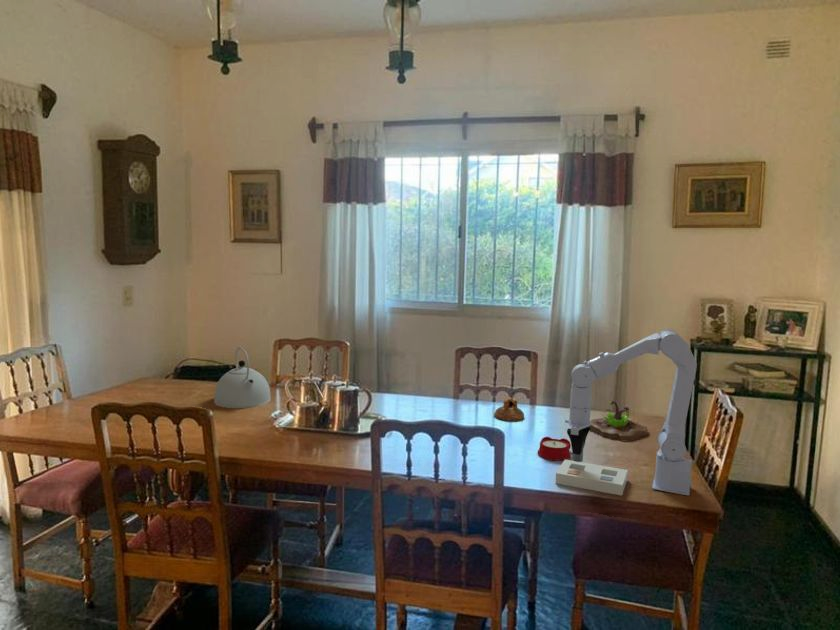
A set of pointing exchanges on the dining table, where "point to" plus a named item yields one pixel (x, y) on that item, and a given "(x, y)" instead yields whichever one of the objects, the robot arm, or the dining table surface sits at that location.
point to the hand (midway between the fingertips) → (577, 452)
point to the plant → (618, 425)
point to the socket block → (592, 477)
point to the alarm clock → (554, 449)
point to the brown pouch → (509, 411)
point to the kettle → (242, 387)
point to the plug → (578, 456)
